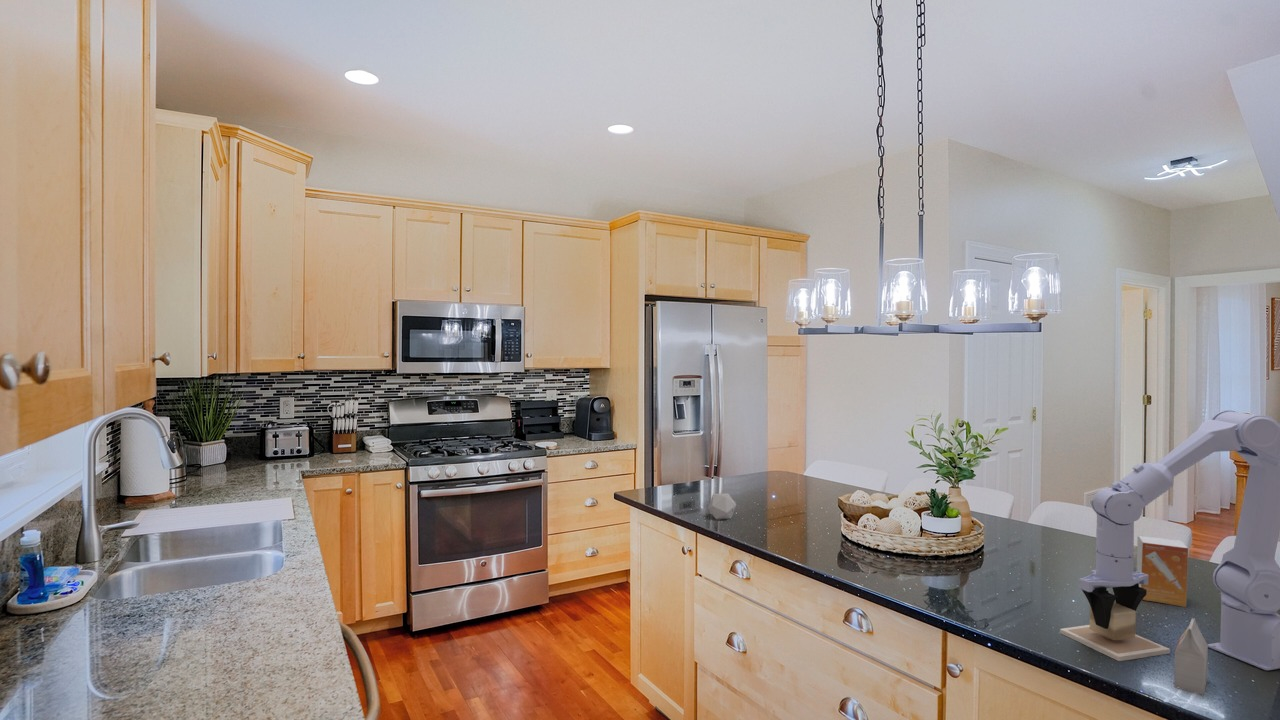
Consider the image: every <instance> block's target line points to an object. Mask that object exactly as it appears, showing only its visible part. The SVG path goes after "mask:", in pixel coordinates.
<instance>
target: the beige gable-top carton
mask: <svg viewBox="0 0 1280 720" xmlns="http://www.w3.org/2000/svg"><path fill="white" fill-rule="evenodd" d="M1208 648H1209V647H1208V643H1207V641H1206V639H1205V637H1204V636H1203V634H1202V633H1201V630H1200V628H1199V626H1198V624H1197V620H1196V618H1193V617H1192V618H1191V620H1190V623H1189V624H1188V626H1187V628H1186V629H1185V630H1184V631H1183V633H1182V634H1181V636H1180V637H1179V638H1178V642H1177V645H1176V647H1175V651H1174V684H1173V687H1174V688H1177V687H1179V688H1178V689H1180V688H1181V690H1184V689H1185V690H1184V691H1187V692H1192V693H1195V694H1197V695H1198V694H1199V695H1201V696H1204V695H1205V691H1206V686H1207V681H1208V652H1209V651H1208V650H1209V649H1208Z"/></svg>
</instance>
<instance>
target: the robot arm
mask: <svg viewBox="0 0 1280 720" xmlns="http://www.w3.org/2000/svg"><path fill="white" fill-rule="evenodd" d="M1217 452H1236V453H1237V454H1238V455H1239V456H1240V457H1241V458H1242V459H1243V460H1244V461H1245V462H1246V463H1247V464H1248V465H1249V469H1248V474H1247V479H1246V485H1245V489H1244V493H1243V499H1242V504H1241V507H1240V508H1241V510H1240V513H1239V519H1238V524H1237V529H1236V534H1235V539H1234V546H1233V547H1232V549H1230V550H1228V551H1226V552H1225V553H1223V554H1222V557H1221V558H1222V559H1221V561H1220V563H1219V564H1218V566H1217V567H1216V568H1215V569H1214V571H1213V573H1212V574H1213V575H1212V582H1213V585H1215V587H1216V589H1217V590H1219V591H1220V601H1221V602H1220V638H1219V641H1220V642H1214V643H1207V645H1208V648H1209V649H1211V650H1214V651H1218V652H1219V653H1221V654H1225V655H1227V656H1229V657H1231V658H1234V659H1236V660H1240V661H1241V662H1244V663H1246V664H1249V665H1251V666H1255V667H1257V668H1259V669H1262V670H1264V671H1273V670H1278V669H1280V614H1279V613H1278V611H1279V610H1280V566H1279V564H1278V562H1277V561H1276V560H1275V558H1276V557H1275V556H1276V551H1277V548H1278V542H1279V537H1280V423H1279V422H1278V421H1277V420H1276V419H1275V418H1273V417H1271V416H1268V415H1265V414H1253V413H1244V412H1239V411H1235V410H1222V411H1218V412H1216V413H1215V414H1214V415H1213V416H1211V418H1209V419H1207V420H1205V421H1203V422H1201V424H1200V425H1199V427H1198V429H1196V430H1195V432H1192V434H1190V435H1189V437H1187V438H1186V439H1185V440H1184V441H1182V442H1181V443H1180V444H1179V445H1177V446H1176V447H1175V448H1174V449H1172V450H1171V451H1170V452H1169V453H1167V454H1166V455H1165V456H1164V457H1163V458H1162V459H1161V458H1160V460H1159V461H1158V462H1143V464H1139V463H1136V464H1135V465H1134V466H1133V467H1132V469H1133V470H1132V471H1131V472H1130V473H1128V474H1126V476H1125V477H1123V478H1122V479H1120V480H1119V481H1116V480H1115V481H1113V482H1112V483H1111V487H1107V488H1106V487H1104V488H1102V489H1099V490H1098V491H1097V492H1096V493H1095V494H1094V497H1093V498H1092V500H1090V506H1091V508H1092V510H1093V511H1094V512H1095V514H1096V530H1095V531H1096V537H1095V538H1096V540H1095V541H1096V543H1095V569H1091V574H1089V575H1087V576H1085V577H1080V578H1079V579H1078V581H1079V582H1078V588H1079V589H1080V590H1081V591H1082V592H1083V594H1084V596H1085V598H1086V599H1087V602H1088V604H1089V607H1090V606H1091V609H1092V612H1093V616H1094V620H1095V623H1096V625H1098V626H1100V627H1102V628H1105V629H1108V627H1109V623H1110V617H1111V610H1112V606H1113V604H1114V603H1117V604H1120V605H1122V606H1125V607H1127V608H1130V609H1132V610H1135V611H1137V609H1138V607H1139V605H1140V604H1141V602H1142V601H1143V600H1142V599H1143V598H1144V597H1145V596H1146V592H1147V590H1146V589H1144V588H1141V587H1139V584H1142V585H1148V576H1149V575H1147V574H1144V573H1141V572H1137V571H1134V549H1135V547H1134V544H1135V542H1134V541H1135V539H1134V538H1135V530H1134V529H1135V522H1137V521H1138V520H1139V519H1140V518H1141V516H1142V514H1143V509H1144V508H1145V507H1146V506H1148V505H1149V504H1151V503H1152V502H1154V501H1155V500H1156V499H1158V498H1159V497H1161V496H1162V495H1163V494H1165V493H1166V492H1168V491H1169V490H1170V489H1172V488H1173V487H1174V479H1175V477H1176V476H1178V475H1179V474H1181V473H1182V472H1184V471H1185V470H1187V469H1189V468H1191V467H1193V466H1194V465H1196V464H1197V463H1198V462H1201V461H1202V460H1204V459H1205V458H1206V457H1209V456H1210V455H1212V454H1213V453H1217ZM1111 588H1112V592H1113V593H1110V592H1109V590H1107V589H1111Z"/></svg>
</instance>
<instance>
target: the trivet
mask: <svg viewBox="0 0 1280 720" xmlns="http://www.w3.org/2000/svg"><path fill="white" fill-rule="evenodd" d="M1059 634H1061V635H1063V636H1065V637H1067V638H1069V639H1072V640H1074V641H1076V642H1078V643H1080V644H1082V645H1085V646H1087V647H1088V648H1091V649H1092V650H1094V651H1096V652H1099V653H1101V654H1104V655H1105V656H1107V657H1109V658H1111V659H1112V660H1116V661H1117V662H1124V661H1130V660H1136V659H1142V658H1150V657H1155V656H1162V655H1167V654H1171V648H1169V647H1166V646H1164V645H1162V644H1160V643H1156V642H1155V641H1152V640H1150V639H1148V638H1146V637H1143V636H1141V635H1139V634H1137V633H1135V638H1128V639H1121V640H1112V639H1110V638H1108V637H1105V636H1103V635H1101V634H1099V633H1097V632H1094V631H1092V630H1090V624H1085V625H1078V626H1071V627H1070V626H1069V627H1063V628H1059Z"/></svg>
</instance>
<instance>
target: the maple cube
mask: <svg viewBox="0 0 1280 720" xmlns="http://www.w3.org/2000/svg"><path fill="white" fill-rule="evenodd" d="M1136 611H1137V610H1136ZM1136 611H1135V610H1132V609H1130V608H1127V607H1125V606H1122V605H1120V604H1117V603H1116V602H1114V604H1113V606H1112V610H1111V617H1110V623H1109V627H1108V629H1105V628H1102V627H1100V626H1098V625H1096V623H1095V620H1094V616H1093V612H1092V609H1091V606H1090V605H1089V625H1090V630H1092V631H1094V632H1097V633H1099V634H1101V635H1103V636H1105V637H1108V638H1110V639H1112V640H1121V639H1128V638H1135V634H1136V621H1137V620H1136V617H1137V616H1136V615H1137V614H1136Z"/></svg>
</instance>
